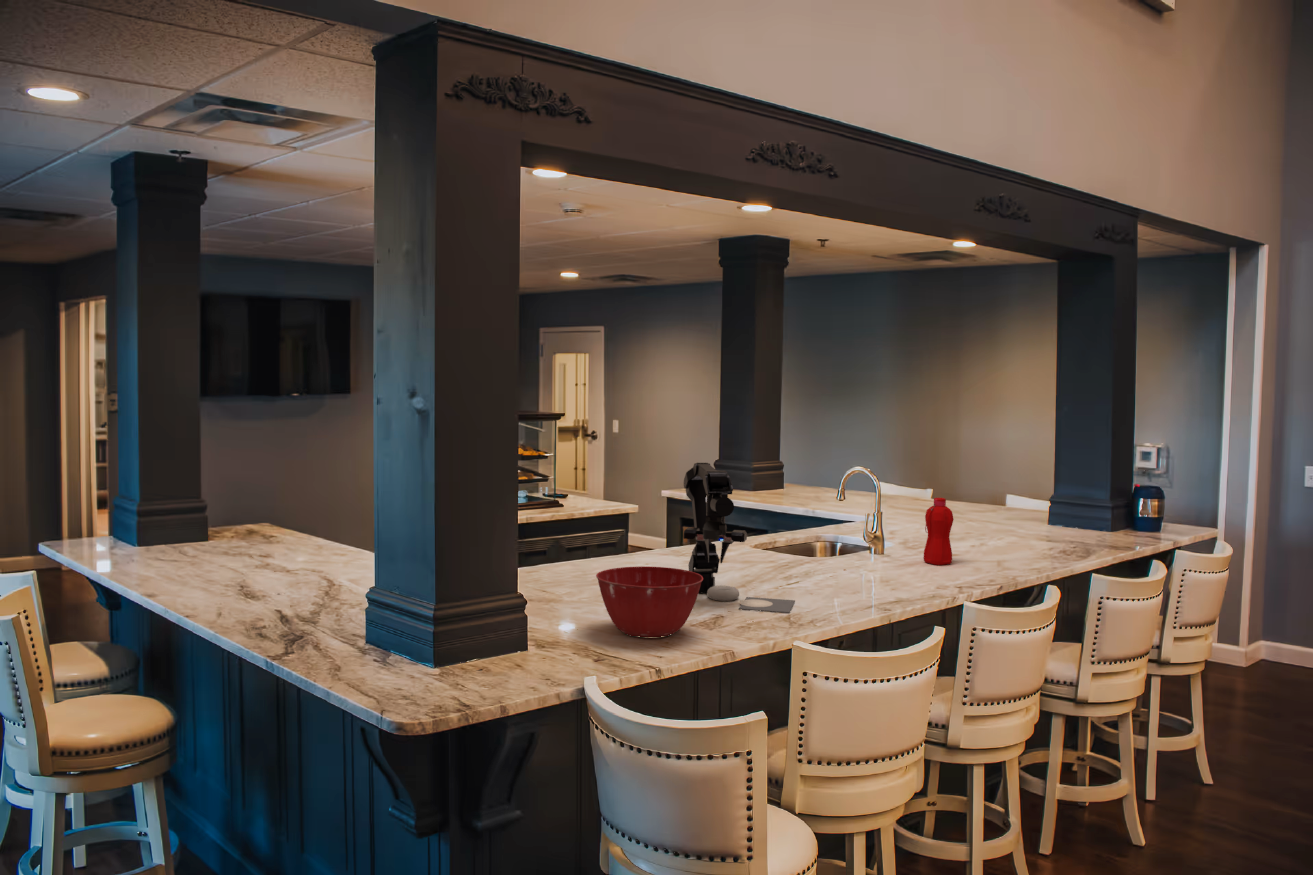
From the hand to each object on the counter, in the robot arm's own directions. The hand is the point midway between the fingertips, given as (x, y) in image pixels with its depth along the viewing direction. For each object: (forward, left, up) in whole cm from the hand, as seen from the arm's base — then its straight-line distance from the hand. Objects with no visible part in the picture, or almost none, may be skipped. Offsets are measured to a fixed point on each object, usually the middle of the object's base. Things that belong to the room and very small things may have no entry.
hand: (714, 562), depth 295 cm
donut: (+5, +1, -10) cm, 12 cm away
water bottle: (+69, +90, -12) cm, 114 cm away
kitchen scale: (+17, 0, -12) cm, 20 cm away
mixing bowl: (-10, -41, -12) cm, 44 cm away
